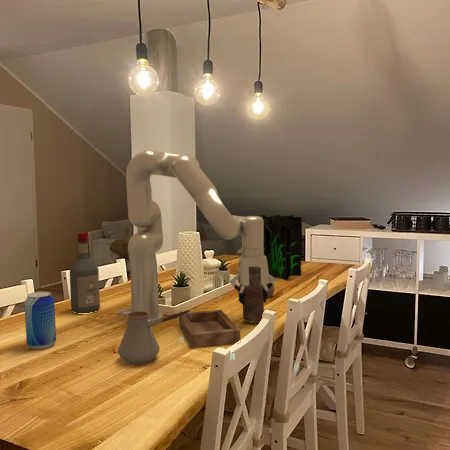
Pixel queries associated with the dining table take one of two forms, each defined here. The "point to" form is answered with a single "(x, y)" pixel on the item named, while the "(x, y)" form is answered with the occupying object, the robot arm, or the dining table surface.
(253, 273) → the dark brown block
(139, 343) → the coffee pot
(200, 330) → the wooden tray
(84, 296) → the liquor
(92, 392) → the dining table surface
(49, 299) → the beer can
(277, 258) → the black pleated panel block
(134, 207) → the robot arm
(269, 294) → the brown egg
